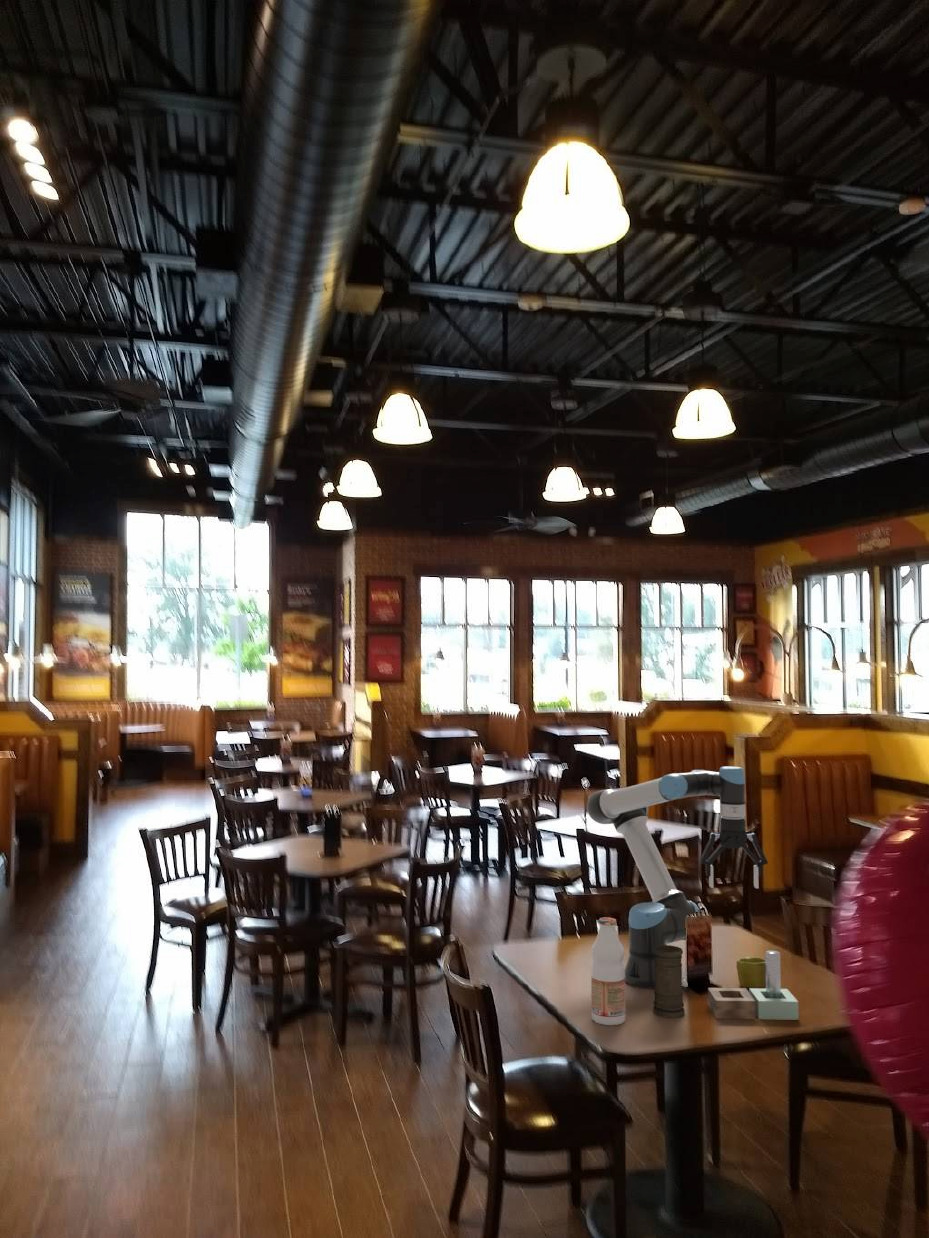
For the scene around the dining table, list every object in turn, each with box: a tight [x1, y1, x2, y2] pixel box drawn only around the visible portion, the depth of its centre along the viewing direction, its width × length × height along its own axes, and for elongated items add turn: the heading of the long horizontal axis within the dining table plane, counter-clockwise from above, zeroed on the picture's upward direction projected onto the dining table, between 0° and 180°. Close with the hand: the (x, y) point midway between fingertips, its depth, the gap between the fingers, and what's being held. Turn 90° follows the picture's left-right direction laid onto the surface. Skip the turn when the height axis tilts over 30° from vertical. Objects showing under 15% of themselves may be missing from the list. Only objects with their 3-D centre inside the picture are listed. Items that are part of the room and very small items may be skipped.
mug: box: [736, 956, 766, 990], centre depth 306 cm, size 12×10×10 cm
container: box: [652, 944, 685, 1019], centre depth 282 cm, size 9×9×18 cm
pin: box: [765, 950, 782, 999], centre depth 281 cm, size 4×4×17 cm
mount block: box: [707, 987, 756, 1020], centre depth 282 cm, size 11×11×5 cm
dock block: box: [748, 988, 800, 1021], centre depth 281 cm, size 11×11×5 cm
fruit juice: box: [590, 916, 626, 1026], centre depth 276 cm, size 9×9×28 cm
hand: (733, 887), depth 300 cm, fingers open, 13 cm apart
